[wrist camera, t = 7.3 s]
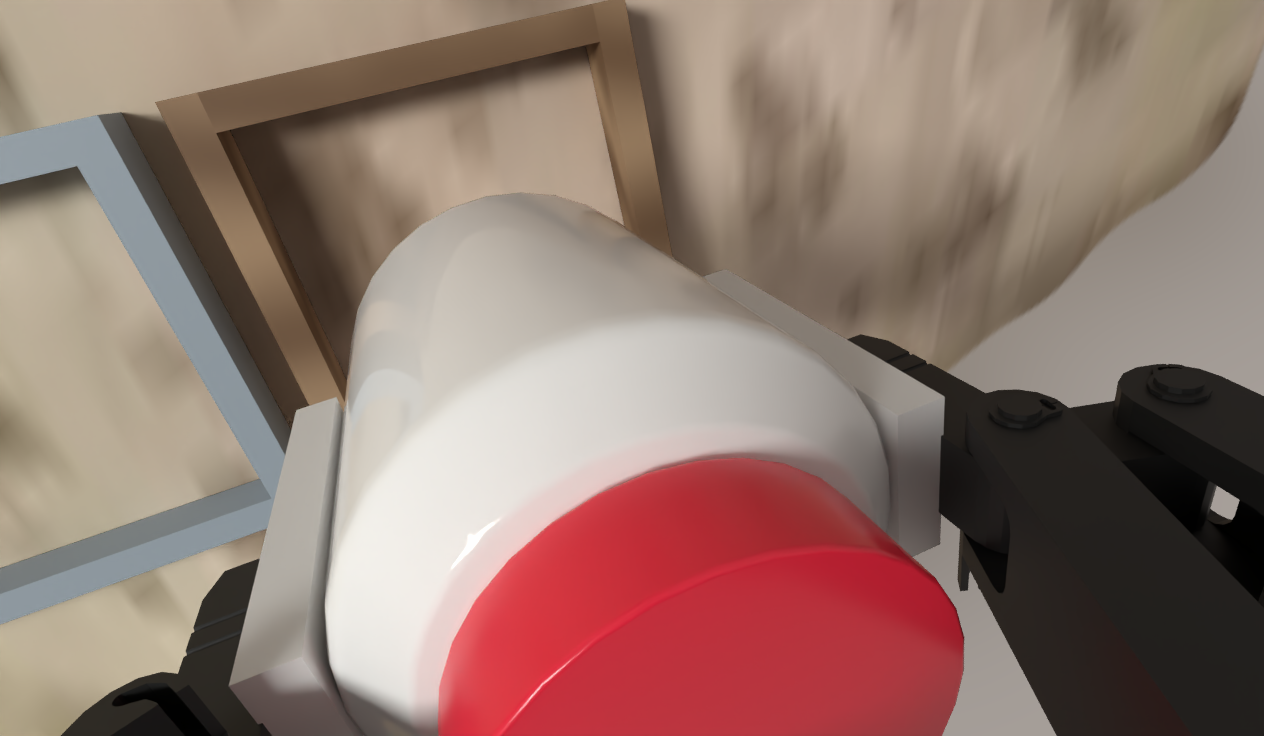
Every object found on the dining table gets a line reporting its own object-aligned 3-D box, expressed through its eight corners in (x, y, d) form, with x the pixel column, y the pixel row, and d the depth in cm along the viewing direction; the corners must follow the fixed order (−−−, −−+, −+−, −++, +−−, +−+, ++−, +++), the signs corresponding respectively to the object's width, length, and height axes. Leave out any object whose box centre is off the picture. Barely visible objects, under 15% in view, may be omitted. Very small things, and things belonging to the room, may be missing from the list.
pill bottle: (567, 528, 18) (766, 1017, 9) (285, 421, 15) (112, 1074, 5) (728, 298, 17) (1156, 582, 8) (466, 117, 13) (675, 236, 4)
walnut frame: (173, 100, 22) (154, 102, 20) (607, 2, 25) (624, -4, 23) (357, 471, 29) (355, 496, 27) (677, 358, 32) (694, 374, 30)
